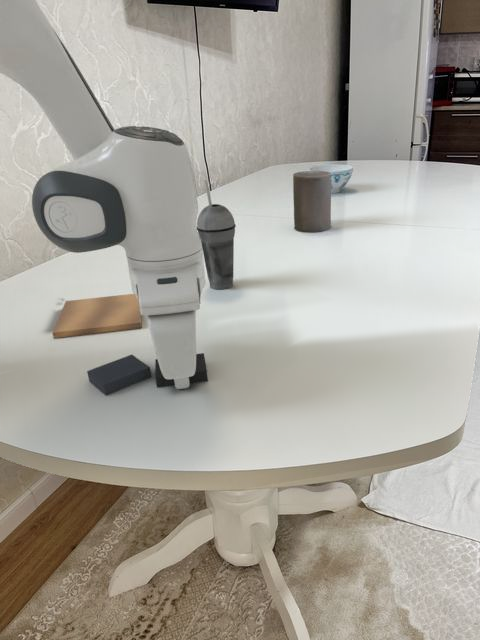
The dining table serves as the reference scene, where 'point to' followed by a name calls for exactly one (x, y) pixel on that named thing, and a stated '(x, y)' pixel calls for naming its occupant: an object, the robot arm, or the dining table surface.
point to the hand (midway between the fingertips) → (181, 373)
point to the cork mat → (98, 316)
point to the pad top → (119, 374)
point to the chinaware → (336, 175)
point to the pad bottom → (197, 377)
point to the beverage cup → (217, 243)
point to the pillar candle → (312, 201)
